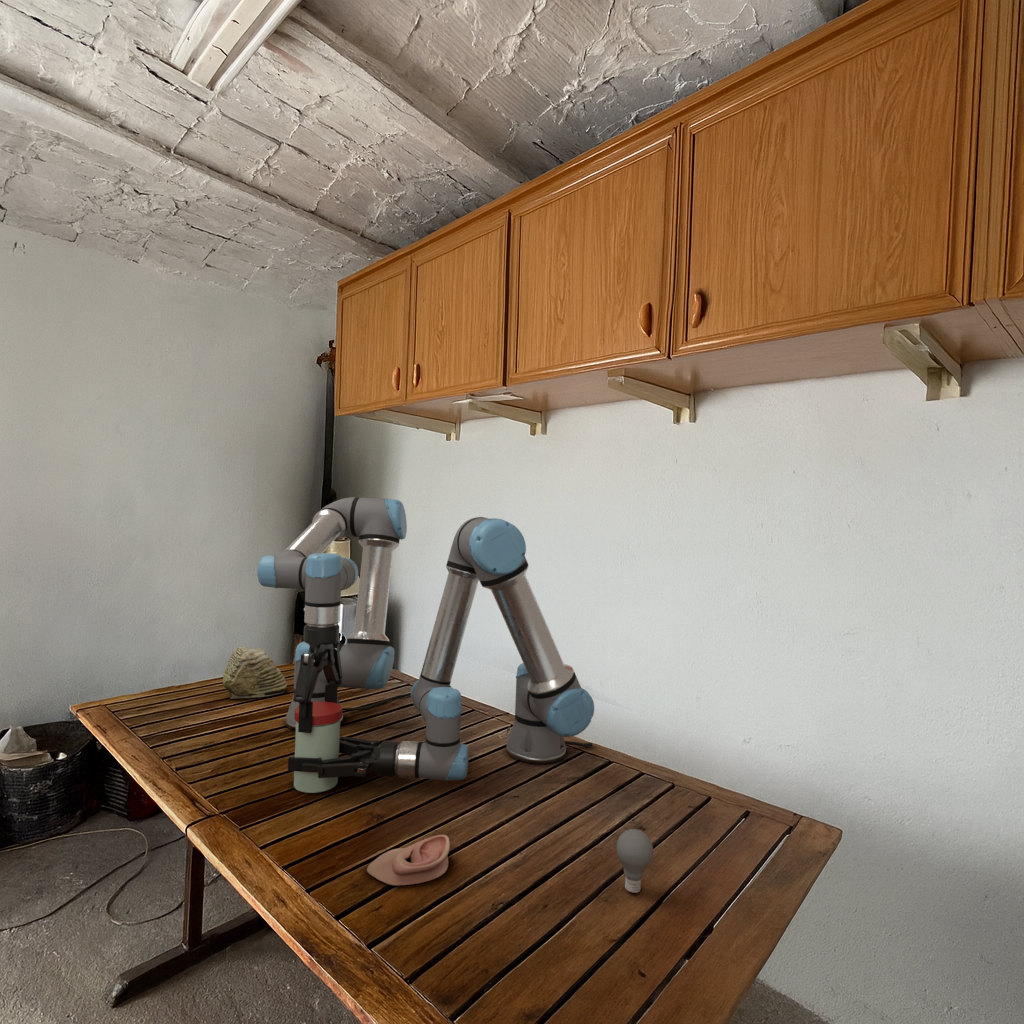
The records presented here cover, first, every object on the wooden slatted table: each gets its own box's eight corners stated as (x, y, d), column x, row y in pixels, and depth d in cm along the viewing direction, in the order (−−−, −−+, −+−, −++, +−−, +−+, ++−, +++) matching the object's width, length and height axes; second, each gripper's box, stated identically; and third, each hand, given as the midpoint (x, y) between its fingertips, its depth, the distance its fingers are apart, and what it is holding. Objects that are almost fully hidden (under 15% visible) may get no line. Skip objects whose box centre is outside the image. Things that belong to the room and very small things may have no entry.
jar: (287, 780, 141) (290, 709, 140) (327, 770, 147) (330, 702, 146) (302, 796, 133) (305, 722, 133) (344, 785, 139) (347, 714, 139)
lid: (296, 727, 133) (296, 718, 133) (292, 712, 142) (292, 703, 142) (345, 722, 137) (345, 713, 137) (338, 708, 146) (338, 699, 146)
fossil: (218, 695, 195) (220, 647, 195) (278, 685, 208) (279, 640, 207) (228, 703, 189) (230, 653, 188) (289, 692, 201) (290, 645, 201)
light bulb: (610, 879, 108) (613, 822, 108) (644, 879, 109) (647, 822, 109) (619, 902, 102) (622, 840, 102) (655, 901, 103) (658, 840, 103)
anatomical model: (359, 856, 105) (387, 822, 116) (358, 879, 105) (386, 843, 116) (435, 869, 102) (456, 833, 114) (434, 893, 103) (455, 855, 114)
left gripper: (330, 613, 152) (326, 704, 152) (277, 633, 128) (273, 740, 129) (359, 615, 150) (356, 707, 151) (312, 636, 127) (308, 744, 127)
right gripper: (387, 799, 129) (277, 794, 129) (406, 755, 151) (312, 751, 151) (388, 763, 129) (278, 757, 129) (407, 724, 151) (313, 720, 151)
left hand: (318, 722), depth 140 cm, fingers open, 11 cm apart
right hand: (297, 754), depth 140 cm, fingers closed on jar, 9 cm apart
